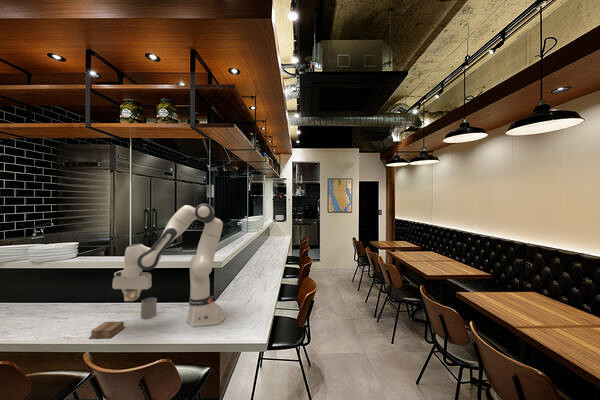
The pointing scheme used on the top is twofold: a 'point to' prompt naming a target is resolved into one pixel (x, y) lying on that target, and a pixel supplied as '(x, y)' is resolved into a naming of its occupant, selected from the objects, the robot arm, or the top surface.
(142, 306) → the cup
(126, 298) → the maple cube
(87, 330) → the top surface
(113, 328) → the walnut pedestal
